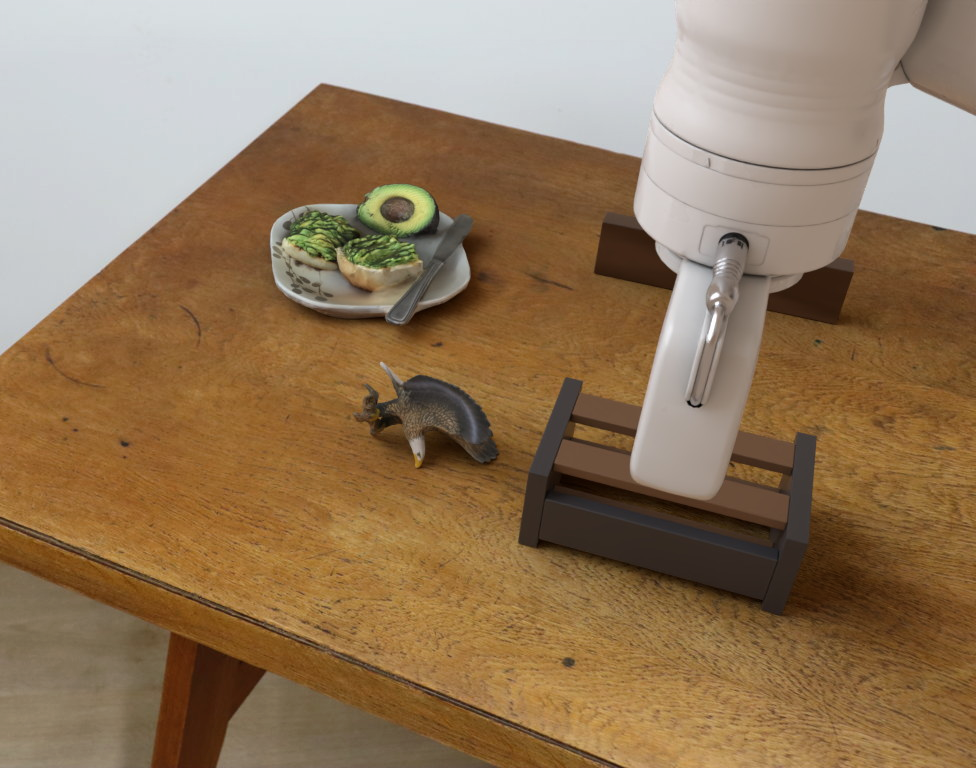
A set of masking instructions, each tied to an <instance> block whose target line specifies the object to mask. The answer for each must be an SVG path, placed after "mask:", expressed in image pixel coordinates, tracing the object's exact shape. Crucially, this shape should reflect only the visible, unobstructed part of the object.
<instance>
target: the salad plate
mask: <svg viewBox="0 0 976 768" xmlns="http://www.w3.org/2000/svg"><path fill="white" fill-rule="evenodd" d="M363 197H364V200H363V201H361V202H359V203H358V204H354V203H315V204H306V205H302V206H299V207H295V208H293V209H291V210H288V211H287V212H286V213H284V214H282V215H281V216H280V217H277V219H276V220H275V221H274V223H273V224H272V227H271V230H270V234H269V240H268V241H269V245H268V247H269V251H270V258H271V259H270V260H271V268H272V274H273V278H274V282H275V285H276V287H277V288H278V290H279V291H280V292H282V293H283V294H284V295H285V296H286V297H287V298H288V299H290V300H291V301H294V302H295V303H297V304H299V305H301V306H304V307H306V308H308V309H311V310H314V311H315V312H317V313H320V314H322V315H325V316H327V317H332V318H337V319H348V320H349V319H350V320H353V319H354V320H355V319H370V318H385V321H386V322H387V323H389V324H390V325H393V326H397V327H398V326H404V325H407V324H408V323H409V322H410V321H411V320H412V318H413V317H414V315H415V314H416V313H418V312H421V311H423V310H426V309H429V308H432V307H435V306H439V305H441V304H444V303H446V302H448V301H450V300H451V299H454V297H456V296H457V295H459V294H460V293H462V292H463V291H465V290H466V289H467V287H468V285H469V282H470V280H471V267H470V264H469V261H468V260H469V259H468V257H467V253H466V251H465V249H464V246H463V241H464V240H465V239H466V238H467V237H468V235H469V234H470V232H471V230H472V227H473V224H474V219H473V217H471V216H470V215H468V214H467V213H460V214H459V215H457V216H455V217H452V216H449V215H448V214H445V213H444V212H442V211H440V209H439V205H438V203H437V201H436V199H435V197H434V195H432V194H431V193H430V192H429V191H428V190H426V189H425V188H423V187H422V186H418V185H415V184H410V183H390V184H389V183H387V184H383V185H380V186H376V187H374V188H373V189H372V190H371V191H370V192H367V193H364V196H363Z"/></svg>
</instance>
